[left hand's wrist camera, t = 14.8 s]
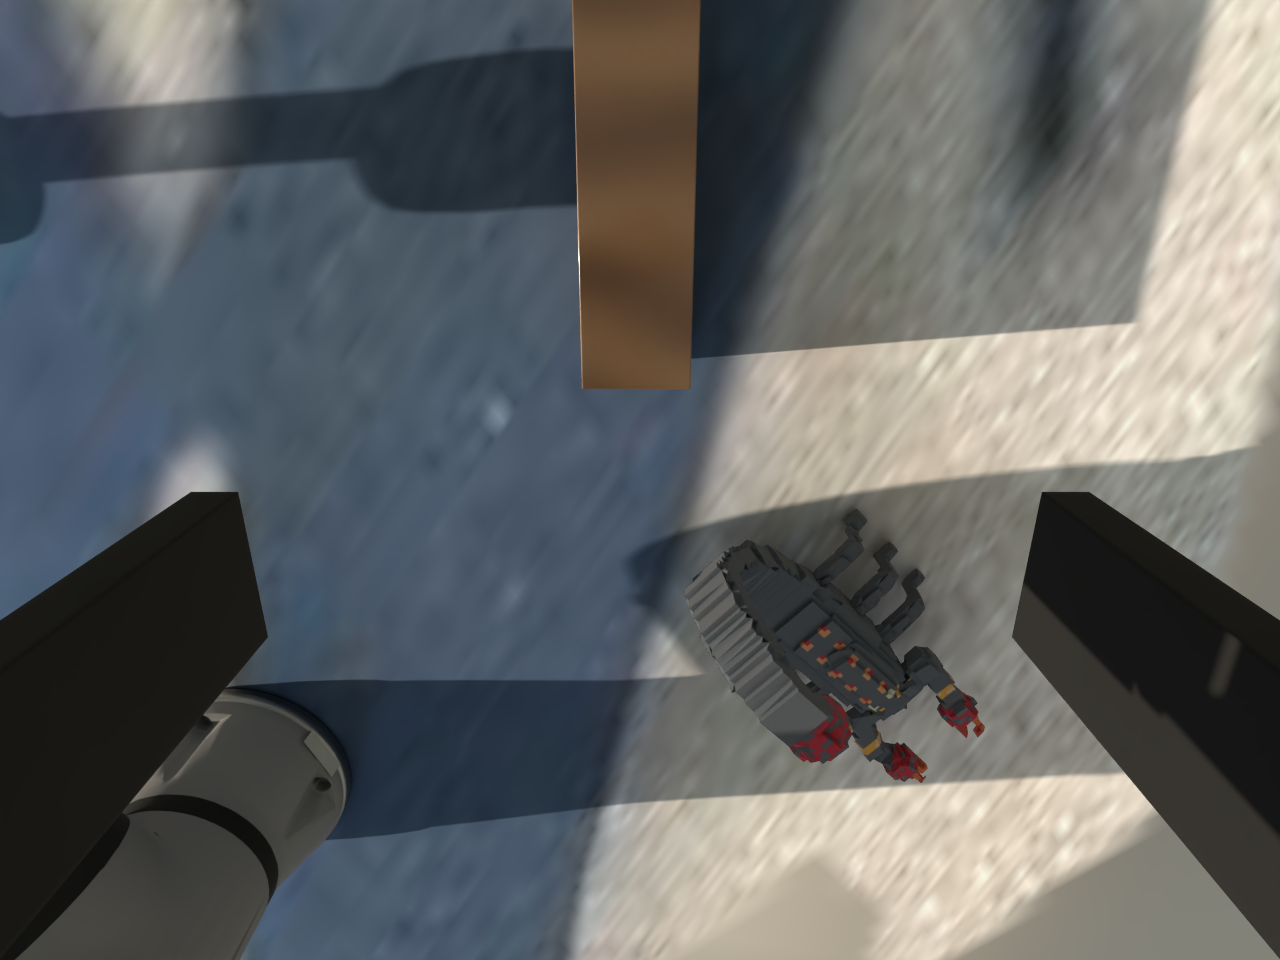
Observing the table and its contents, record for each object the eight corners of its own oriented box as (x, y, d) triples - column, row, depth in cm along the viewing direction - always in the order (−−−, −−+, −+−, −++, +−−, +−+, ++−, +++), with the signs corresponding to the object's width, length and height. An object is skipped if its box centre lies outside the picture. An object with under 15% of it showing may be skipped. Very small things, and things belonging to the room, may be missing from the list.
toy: (764, 418, 48) (833, 545, 31) (1014, 664, 55) (1184, 880, 38) (620, 554, 52) (610, 735, 34) (871, 770, 58) (968, 1012, 41)
